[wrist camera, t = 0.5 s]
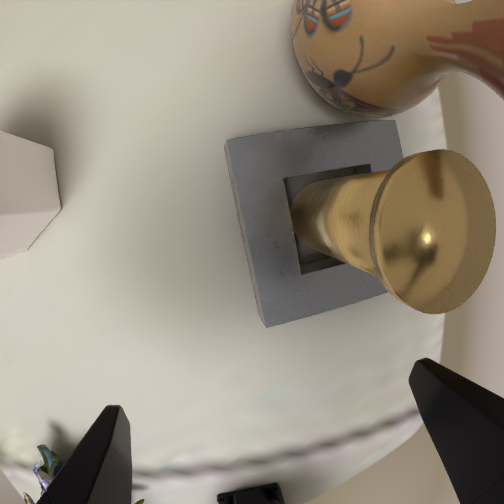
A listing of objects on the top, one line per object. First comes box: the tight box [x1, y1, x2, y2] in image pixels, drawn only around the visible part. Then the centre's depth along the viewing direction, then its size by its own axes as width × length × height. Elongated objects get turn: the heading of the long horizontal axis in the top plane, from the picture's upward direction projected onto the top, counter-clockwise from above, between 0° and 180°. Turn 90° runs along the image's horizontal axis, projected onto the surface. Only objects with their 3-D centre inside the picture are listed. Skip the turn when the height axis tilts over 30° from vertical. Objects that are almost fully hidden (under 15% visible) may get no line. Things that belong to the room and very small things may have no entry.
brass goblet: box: [291, 150, 496, 314], centre depth 16 cm, size 6×6×13 cm
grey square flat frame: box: [224, 120, 403, 328], centre depth 21 cm, size 12×12×2 cm
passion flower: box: [23, 444, 144, 504], centre depth 20 cm, size 11×11×12 cm
